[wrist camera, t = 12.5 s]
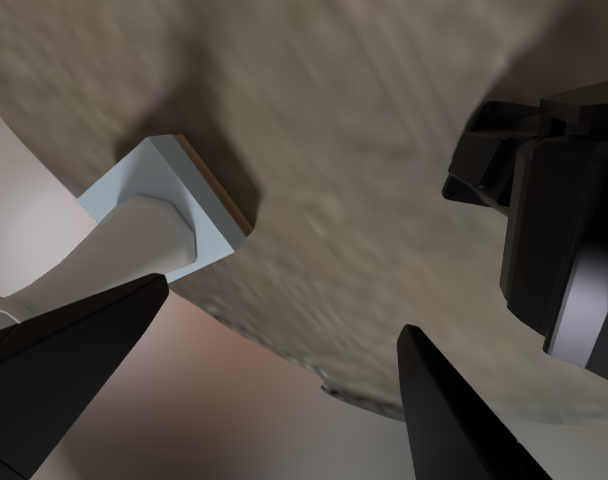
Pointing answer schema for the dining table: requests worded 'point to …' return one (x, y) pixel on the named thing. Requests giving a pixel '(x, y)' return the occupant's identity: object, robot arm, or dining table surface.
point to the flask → (109, 258)
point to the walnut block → (215, 186)
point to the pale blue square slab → (169, 197)
